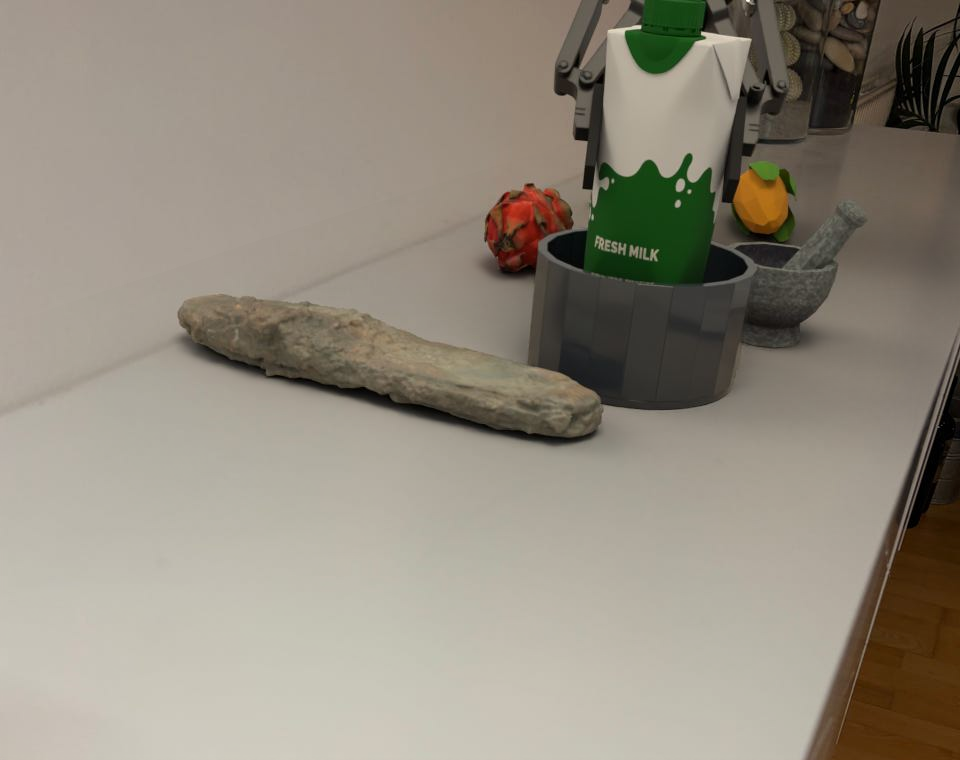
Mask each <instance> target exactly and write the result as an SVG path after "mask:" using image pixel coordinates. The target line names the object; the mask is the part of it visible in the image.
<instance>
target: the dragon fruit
mask: <svg viewBox="0 0 960 760" xmlns="http://www.w3.org/2000/svg"><path fill="white" fill-rule="evenodd" d="M571 207H572V206H570V204H569V203H568V202H567V201H565V200H564V199H563V198H561V194H560V192H559V190H557V189H556V188H550V187H547V188H545V189H544V191H542V190H541V188H537V187H536V186H535V183H534V182H525V183H524V185H523V188H522V190H516V189H510V190H507V191H506V192H504V193H503V194H502V195H501V196H500V197H499V198H498V200H497V201H496V203H495V204H494V206H492V208H491V209H490V210H489V211H488V213H487V214H486V217H485V219H484V233H483V241H484V243H487V246H488V248H489V250H490V251H491V253H492V255H493V256H494V257H495V258H497V259H496V260H497V262H498V266H497V271H499V272H501V273H503V272H510V273H516V272H518V271H520V270H521V269H523V268H524V269H525V268H526V267H527V266H532V267H533V268H534V269H535V270H536V263H537V252H538V242H539V241H541V240H542V239H544V238H545V237H547V236H548V235H550V234H554V233H558V232H562V231H566V230H571V229H573V227H574V225H575V221H574V220H573V218H572V216H573V210H572V208H571Z"/></svg>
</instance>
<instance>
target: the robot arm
mask: <svg viewBox="0 0 960 760" xmlns="http://www.w3.org/2000/svg"><path fill="white" fill-rule="evenodd" d="M629 1H630V3H629V6H628V8H627V10H626V11H625V12H624V13H623V15H622V16H621V17H620V19H619V20H618V21H617V23H615V25H614V27H613V28H612V29H619V28H627V27H632V26H635V25H642V22H641V21H642V15H643V8H644V1H645V0H629ZM700 1H705V2H706V8H705V14H704V21H703V28H702V31H701V32H707V33H713V34H718V35H725V36H733V37H739V35H738V33H737V31H736V29H735V27H734V25H733V23H732V21H731V18H730V11H729V5H730V4H731V3H732V2H733V1H734V0H700ZM739 1H740V2H741V5H742V10H743V11H744V15H745V17H746V18H750V21H749V29H750V36H751V39H752V40H751V43H752V46H753V52H754V58H755V63H756V68H757V72H756V69H755V68H754V66H753V64H752V62H751V60H750V58H749V56H748V57H747V61H746V65H745V70H744V74H743V79H742V83H741V88H740V94H739V99H738V101H737V106H736V112H735V116H734V122H733V128H732V133H731V139H730V144H729V150H728V155H727V161H726V166H725V172H724V179H723V184H722V190H721V192H722V193H721V203H722V204H723V203H725V204H732V202H733V199H734V196H735V193H736V190H737V187H738V184H739V181H740V176H741V173H742V172H741V171H742V161H743V160H742V159H743V157H747V158H751V157H752V156H753V154H754V153H755V150H756V148H757V145H758V142H759V139H760V129H761V118H762V117H761V116H762V115H765V114H768V115H770V116H779V114H781V113H782V111H783V108H784V106H785V103H786V100H787V98H788V94H789V92H790V89H791V81H790V75H789V71H788V66H787V61H786V56H785V55H786V54H785V50H784V46H783V40H782V35H781V30H780V26H779V25H780V24H779V20H778V15H777V9H776V5H775V0H739ZM608 4H610V0H581V1H580V2H579V6H578V7H577V9H576V13H575V15H574V17H573V20H572V22H571V24H570V26H569V28H568V32H567V33H566V36H565V38H564V41H563V44H562V46H561V48H560V51H559V52H558V55H557V58H556V60H555V62H554V72H553V73H554V74H553V92H554V93H555V94H556V95H557V96H558V97H564V96H567V95H568V96H570V97H572V99H574V101H575V105H574V106H575V108H574V114H573V123H572V124H573V125H572V136H573V139H574V141H579V142H580V141H581V142H586V143H587V144H586V151H585V161H584V169H583V177H582V178H583V179H582V188H581V189H582V190H587V191H592V190H593V183H594V175H595V167H596V158H597V150H598V141H599V133H600V125H601V116H602V108H603V98H604V87H605V71H606V53H607V36H606V37H605V39H604V40H603V41H602V43H601V44H600V45H599V47H598V48H597V49H596V50H595V52H594V53H593V54H592V56H591V57H590V59H588V61H587V63H586V64H585V65H584V67H582V69H581V68H580V67H581V65H582V63H583V61H584V57H585V55H586V52H587V50H588V48H589V46H590V44H591V41H592V38H593V36H594V33H595V31H596V29H597V26H598V24H599V22H600V18H601V16H602V13H603V12H602V11H603V5H604V6H606V5H608ZM757 73H758V74H757Z"/></svg>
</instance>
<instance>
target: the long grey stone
mask: <svg viewBox="0 0 960 760" xmlns="http://www.w3.org/2000/svg"><path fill="white" fill-rule="evenodd" d="M177 319H178V325H179V327H181V328H182V329H184V330H186V333H187V337H188V339H189V340H192V341H193V343H196V344H201V345H203V346H206V347H208V348H209V349H211V350H213V351H214V352H216V353H218V354H221V355H223V356H224V357H227V358H228V359H229V360H231V361H238V362H240V363H241V362H243V363H245V364H247V365H249V366H257V367H259V368H260V369H261V370H265V375H266V376H267V377H273V376H283V377H285V378H289V379H297V378H302V379H309V380H312V381H314V382H317V383H320V384H323V385H331V386H332V385H333V386H337V387H338V388H340V389H348V388H350V389H355V388H363V387H364V388H366V389H368V390H369V391H372V392H376V393H377V394H379V395H381V396H384V395H389V398H390V399H391V400H392V401H393V402H394V403H400V404H413V405H421V406H424V407H428V408H430V409H431V408H433V409H435V410H438V411H441V412H444V413H449V414H450V415H452V416H454V417H457V418H460V419H463V420H467V421H471V422H474V423H477V424H479V425H480V424H481V425H486V426H487V427H490V428H493V429H495V430H498V431H503V430H506V431H513V432H514V431H522V432H524V433H526V434H528V435H532V434H538V435H543V436H550V437H556V438H557V437H558V438H576V437H584V436H586V435H588V434H592V433H593V432H594V431H595V430H597V429H598V427H599V426H600V425H601V424H602V422H603V421H602V419H603V413H604V410H605V408H604V406H603V405H602V403H601V399H600V397H599V395H597V394H596V392H594V391H593V390H590V389H587V388H585V387H583V386H582V385H580V384H579V383H578V382H576V381H573V380H572V379H571V378H569V377H568V376H565V375H564V374H561V373H558V372H554V371H550V370H547V369H543V368H539V367H531V366H528V364H527V365H526V364H522V363H519V362H517V361H513V360H510V359H506V358H501V357H498V356H496V355H493V354H489V353H485V352H481V351H477V350H473V349H470V348H467V347H459V346H455V345H452V344H447V343H441V342H437V341H431V340H427V339H424V338H422V337H420V336H417V335H416V334H414V333H412V332H410V331H406V330H404V329H400V328H396V327H394V326H391V325H389V324H387V323H386V322H384V321H382V320H381V319H377V318H374V317H373V316H372V315H371V314H369V313H366V312H364V313H363V312H361V311H358V310H357V309H355V308H344V307H341V308H335V307H332V306H327V305H320V304H317V303H315V304H314V303H311V302H310V301H308V300H304V301H300V302H289V301H282V300H273V299H261V298H256V297H255V296H250V295H242V296H240V297H237V296H233V295H229V294H225V293H219V294H209V295H208V294H207V295H198V296H194V297H190V298H187V299H185V300H184V301H183V303H182V304H181V306H180V307H179V308H178V310H177Z"/></svg>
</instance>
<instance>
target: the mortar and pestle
mask: <svg viewBox="0 0 960 760" xmlns="http://www.w3.org/2000/svg"><path fill="white" fill-rule="evenodd" d="M867 221H868V216H867V214H866V212H865V211H864V209H863V208H862V207H861V206H860V205H859V204H858V203H856V202H854V201H852V200H850V199H848V198H842V199H841V200H840V201H839V202H838V203H837V204H836V207H835V211H834V212H833V213H832V214H831V215H830V216H829V217H828V218H827V219H826V221H825V222H824V223H823V224H822V225H821V226H820V227H819V228H818V229H817V230H816V232H814V233H813V235H812V236H811V237H809V239H808V240H807V241H806V242H805V243H804V244H803V245H802V246H798V245H792V244H785V243H775V242H768V241H748V242H733V243H730V244H729V245H726V246H727V247H730V248H733V249H736V250H738V251H739V252H741V253H743V254H744V255H746V256H748V257H749V258H751V259H752V260H753V261H754V263H755V265H756V267H757V268H758V270H757V275H756V280H755V285H754V289H753V294H752V299H751V304H750V309H749V314H748V319H747V323H746V328H745V333H744V338H743V343H746V344H748V345H750V346H751V345H752V346H757V347H765V348H773V349H777V348H786V347H787V348H788V347H793V346H794V345H795V344H797V342H799V340H800V335H801V324H802V323H803V322H805V321H806V320H808V319H809V318H810V317H811V316H813V315H814V314H815V313H816V312H817V311H818V310H819V309H820V308H821V306H822V305H823V304H824V302H826V300H827V299H828V298H829V295H830V292H831V290H832V288H833V285H834V283H835V280H836V276H837V274H838V273H837V272H838V269H839V265H840V263H838V262H837V261H836V260H835V259H834V258H835V257H836V256H837V254H838V253H839V252H840V251H841V250H842V248H843V247H844V245H846V243H847V241H849V239H850V238H851V236H852V235H853V234H854V232H855V231H856V230H857V229H859V228H862V227H863V226H865V224H866V223H867Z"/></svg>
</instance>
